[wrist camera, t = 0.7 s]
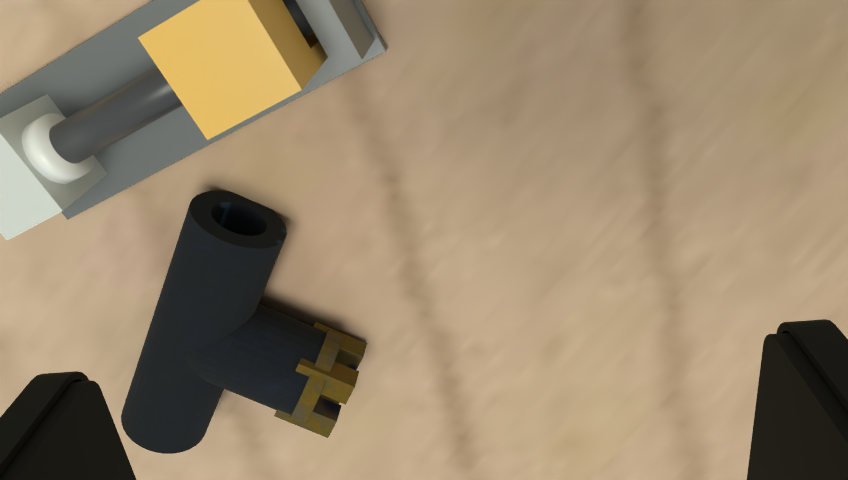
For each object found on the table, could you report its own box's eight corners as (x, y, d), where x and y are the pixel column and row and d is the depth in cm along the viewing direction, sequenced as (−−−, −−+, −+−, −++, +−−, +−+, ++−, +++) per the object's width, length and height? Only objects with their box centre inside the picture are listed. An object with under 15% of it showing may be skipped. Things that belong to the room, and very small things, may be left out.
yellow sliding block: (284, -44, 32) (235, -21, 25) (336, 47, 33) (301, 90, 27) (204, 4, 33) (137, 37, 26) (258, 89, 34) (207, 140, 28)
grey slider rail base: (309, -95, 32) (280, -89, 27) (386, 48, 34) (372, 76, 30) (-16, 104, 37) (-86, 137, 32) (73, 214, 40) (19, 260, 35)
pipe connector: (393, 316, 35) (292, 509, 42) (405, 264, 40) (313, 444, 47) (172, 220, 34) (104, 434, 41) (211, 178, 39) (144, 377, 45)
